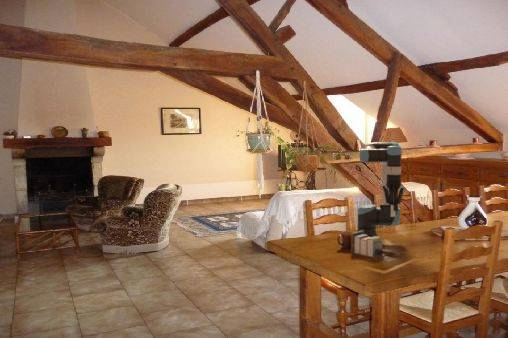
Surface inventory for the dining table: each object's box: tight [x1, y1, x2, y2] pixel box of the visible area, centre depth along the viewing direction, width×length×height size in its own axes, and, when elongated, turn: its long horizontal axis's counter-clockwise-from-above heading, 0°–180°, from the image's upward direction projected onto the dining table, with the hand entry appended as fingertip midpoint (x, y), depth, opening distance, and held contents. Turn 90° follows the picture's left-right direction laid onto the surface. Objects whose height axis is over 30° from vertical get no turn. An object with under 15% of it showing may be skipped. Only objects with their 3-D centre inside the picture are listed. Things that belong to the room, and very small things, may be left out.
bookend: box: [373, 240, 386, 259], centre depth 257 cm, size 4×8×8 cm, turn 134°
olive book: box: [367, 236, 382, 258], centre depth 260 cm, size 4×8×10 cm, turn 134°
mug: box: [336, 231, 354, 250], centre depth 277 cm, size 12×9×10 cm
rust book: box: [359, 237, 370, 257], centre depth 263 cm, size 4×8×9 cm, turn 134°
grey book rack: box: [350, 231, 401, 262], centre depth 260 cm, size 25×11×13 cm, turn 44°
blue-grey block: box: [354, 234, 368, 255], centre depth 266 cm, size 4×8×10 cm, turn 134°
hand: (393, 216), depth 255 cm, fingers closed
